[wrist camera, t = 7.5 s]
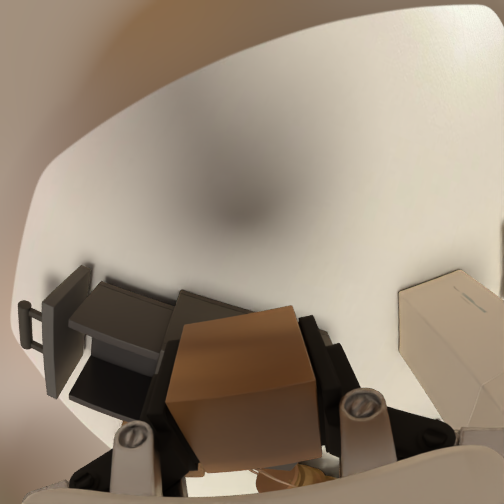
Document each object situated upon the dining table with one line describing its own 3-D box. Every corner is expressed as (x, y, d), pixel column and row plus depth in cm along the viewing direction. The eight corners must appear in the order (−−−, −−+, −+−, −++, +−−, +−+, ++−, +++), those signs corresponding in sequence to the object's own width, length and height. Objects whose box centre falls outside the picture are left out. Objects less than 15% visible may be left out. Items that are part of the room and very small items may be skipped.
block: (211, 398, 13) (207, 473, 9) (183, 324, 11) (164, 402, 7) (303, 383, 12) (322, 457, 9) (292, 304, 11) (315, 379, 7)
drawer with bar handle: (45, 337, 30) (13, 377, 23) (47, 251, 27) (3, 283, 19) (192, 391, 33) (184, 444, 26) (221, 312, 29) (217, 365, 22)
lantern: (319, 533, 41) (204, 494, 35) (329, 492, 50) (226, 439, 43) (387, 531, 33) (282, 501, 26) (394, 483, 41) (301, 428, 35)
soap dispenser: (460, 268, 30) (615, 400, 7) (456, 329, 33) (569, 464, 10) (397, 291, 30) (547, 475, 7) (398, 352, 33) (498, 522, 10)
